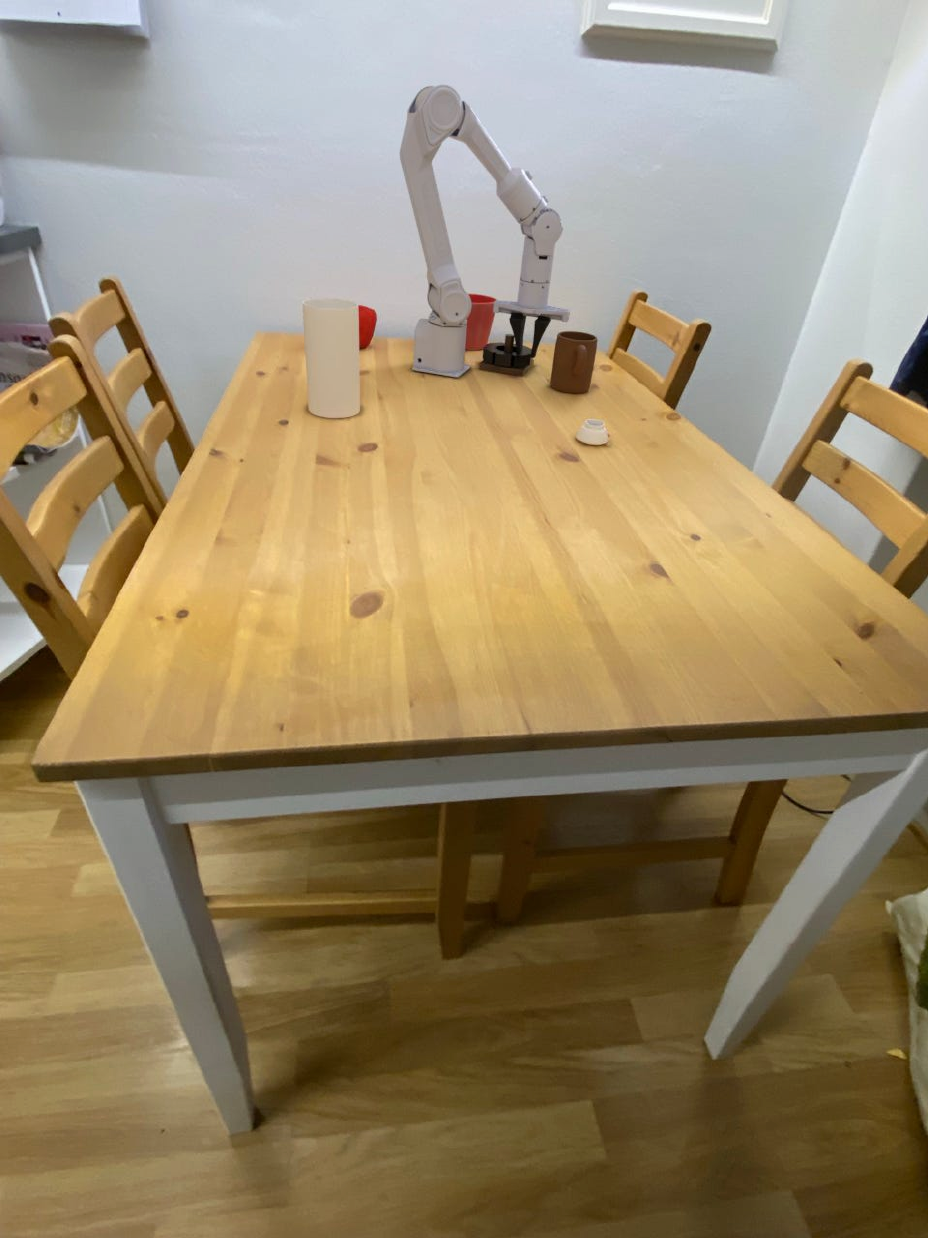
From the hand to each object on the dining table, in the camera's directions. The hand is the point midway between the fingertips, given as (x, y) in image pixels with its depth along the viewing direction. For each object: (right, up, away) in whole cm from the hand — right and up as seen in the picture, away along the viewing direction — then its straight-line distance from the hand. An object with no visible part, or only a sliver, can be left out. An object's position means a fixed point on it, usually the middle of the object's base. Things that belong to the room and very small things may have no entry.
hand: (526, 355), depth 138 cm
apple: (-35, +4, +7) cm, 36 cm away
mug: (+8, -10, -8) cm, 15 cm away
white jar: (+8, -24, -29) cm, 38 cm away
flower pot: (-11, +8, +15) cm, 20 cm away
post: (-4, -1, +2) cm, 5 cm away
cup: (-33, -18, -25) cm, 46 cm away
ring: (-4, 0, +1) cm, 4 cm away
